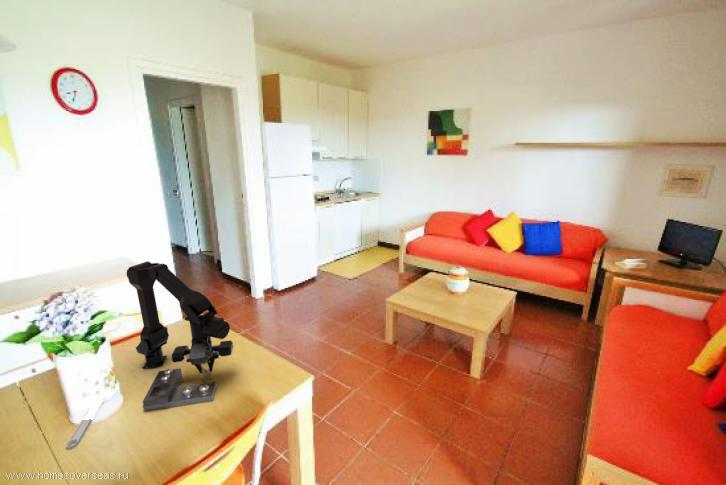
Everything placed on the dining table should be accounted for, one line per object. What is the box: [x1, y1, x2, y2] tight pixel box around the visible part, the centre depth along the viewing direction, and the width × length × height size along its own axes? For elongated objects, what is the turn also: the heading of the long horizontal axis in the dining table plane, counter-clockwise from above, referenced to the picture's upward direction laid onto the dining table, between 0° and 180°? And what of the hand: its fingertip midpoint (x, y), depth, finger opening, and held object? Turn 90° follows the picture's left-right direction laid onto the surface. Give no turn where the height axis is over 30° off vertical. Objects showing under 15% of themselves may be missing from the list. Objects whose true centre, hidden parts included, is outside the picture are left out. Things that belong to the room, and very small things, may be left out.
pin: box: [200, 359, 213, 382], centre depth 120 cm, size 4×4×9 cm
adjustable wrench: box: [65, 419, 93, 450], centre depth 104 cm, size 25×6×2 cm, turn 12°
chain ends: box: [142, 368, 218, 412], centre depth 114 cm, size 15×20×5 cm
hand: (206, 372), depth 121 cm, fingers closed on pin, 3 cm apart
